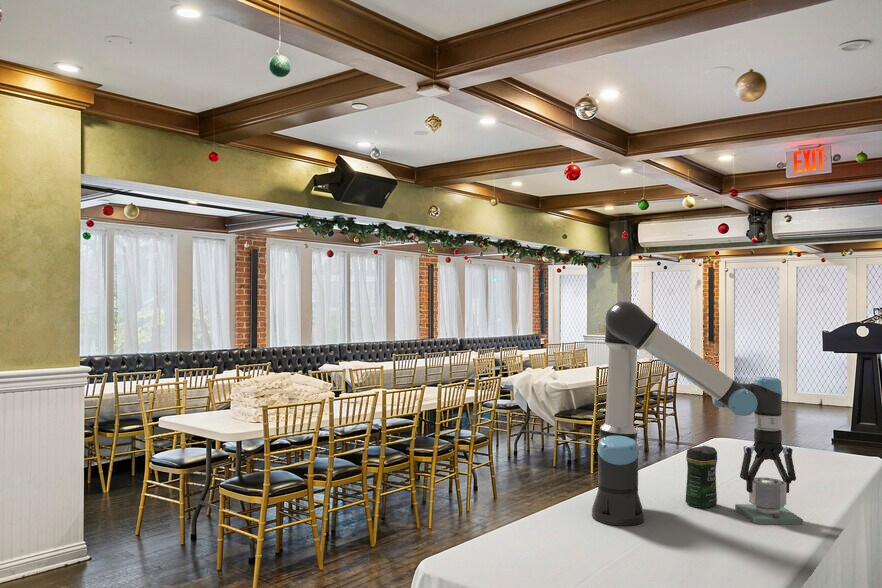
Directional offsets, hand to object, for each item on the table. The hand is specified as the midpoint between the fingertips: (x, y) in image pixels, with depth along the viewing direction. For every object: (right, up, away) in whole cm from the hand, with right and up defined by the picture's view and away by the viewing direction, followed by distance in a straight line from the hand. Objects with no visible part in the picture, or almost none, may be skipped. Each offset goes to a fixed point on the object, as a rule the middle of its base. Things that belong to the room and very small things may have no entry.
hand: (767, 503), depth 206 cm
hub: (0, 0, 0) cm, 0 cm away
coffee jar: (-16, -4, +11) cm, 20 cm away
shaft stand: (0, -4, 0) cm, 4 cm away
